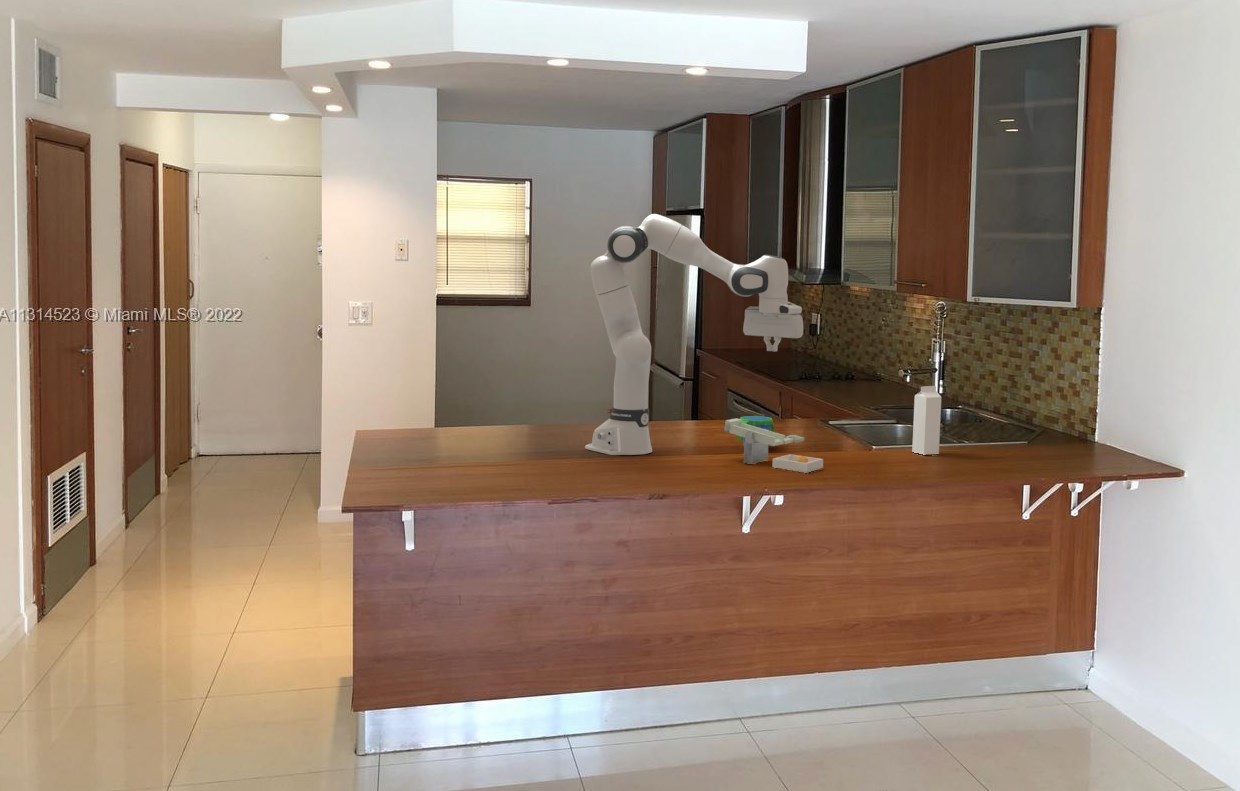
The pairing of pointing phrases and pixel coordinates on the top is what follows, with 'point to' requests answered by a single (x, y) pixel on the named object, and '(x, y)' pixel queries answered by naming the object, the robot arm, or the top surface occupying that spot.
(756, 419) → the snack cup
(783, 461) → the white flat rimmed tray
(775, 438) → the lever
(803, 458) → the ball
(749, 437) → the stand
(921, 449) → the milk
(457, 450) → the top surface
